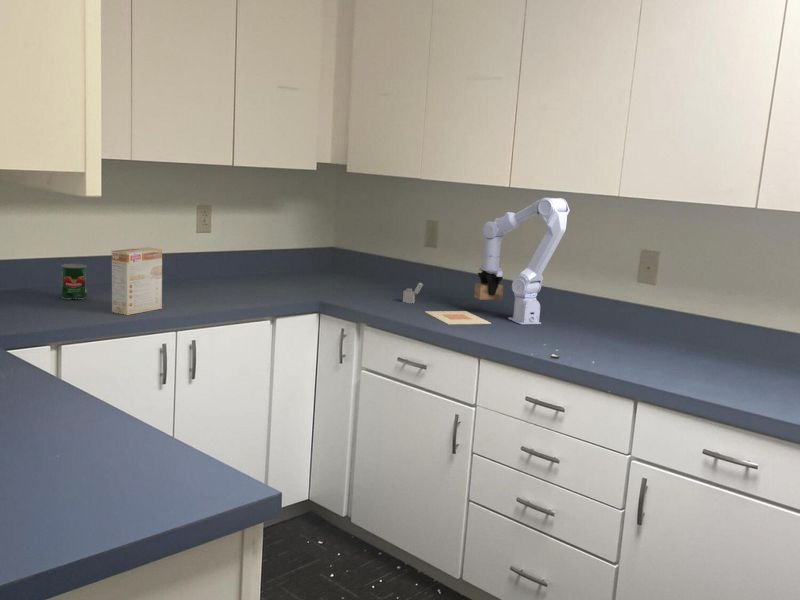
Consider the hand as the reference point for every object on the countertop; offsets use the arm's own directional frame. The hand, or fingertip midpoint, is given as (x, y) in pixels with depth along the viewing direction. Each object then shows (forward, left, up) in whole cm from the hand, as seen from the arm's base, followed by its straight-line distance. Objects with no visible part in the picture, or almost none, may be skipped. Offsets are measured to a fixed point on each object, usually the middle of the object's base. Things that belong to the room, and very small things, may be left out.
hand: (488, 293), depth 286 cm
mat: (-7, +15, -7) cm, 18 cm away
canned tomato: (+32, +138, -8) cm, 142 cm away
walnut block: (0, 0, -2) cm, 2 cm away
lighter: (+20, +21, -7) cm, 30 cm away
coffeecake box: (+10, +119, -8) cm, 120 cm away
